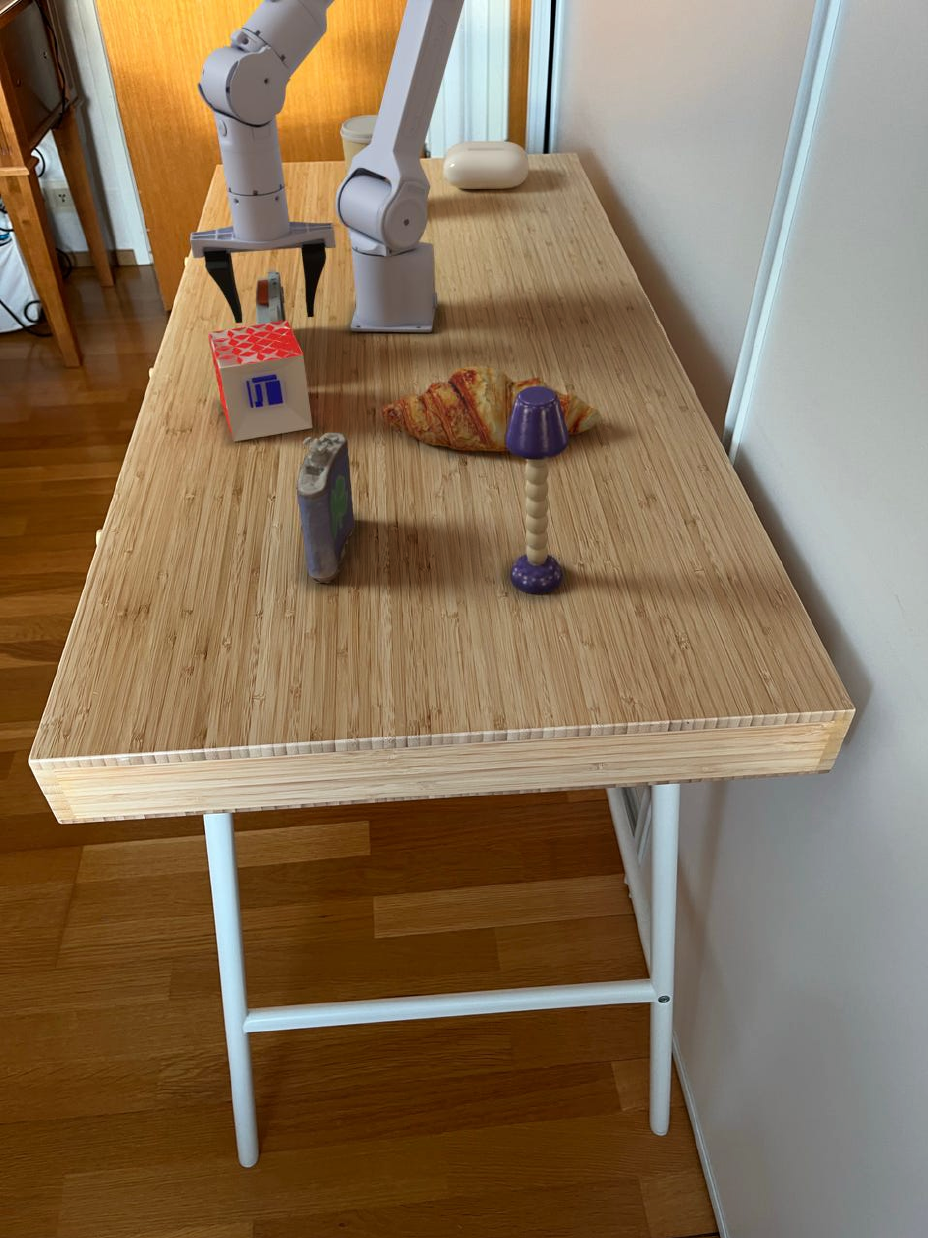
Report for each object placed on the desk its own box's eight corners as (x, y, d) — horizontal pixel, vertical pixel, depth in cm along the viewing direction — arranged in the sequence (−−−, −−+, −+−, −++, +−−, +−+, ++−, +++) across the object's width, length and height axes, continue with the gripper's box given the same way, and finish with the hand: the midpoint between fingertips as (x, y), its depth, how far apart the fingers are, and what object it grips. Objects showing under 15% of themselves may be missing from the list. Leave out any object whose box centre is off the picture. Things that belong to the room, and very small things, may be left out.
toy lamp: (518, 601, 78) (523, 416, 67) (493, 568, 82) (495, 386, 71) (571, 585, 80) (585, 401, 69) (545, 553, 83) (554, 372, 72)
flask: (334, 586, 80) (319, 474, 73) (299, 583, 81) (281, 471, 73) (359, 519, 87) (348, 411, 80) (327, 517, 87) (313, 409, 80)
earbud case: (444, 172, 157) (443, 136, 153) (526, 172, 156) (527, 135, 153) (442, 194, 149) (441, 156, 145) (529, 194, 149) (530, 156, 145)
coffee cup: (410, 224, 140) (405, 133, 132) (344, 224, 140) (336, 133, 132) (413, 201, 147) (409, 113, 139) (350, 201, 147) (343, 113, 139)
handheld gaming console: (293, 386, 105) (283, 314, 100) (265, 388, 105) (253, 317, 100) (289, 327, 116) (280, 259, 110) (264, 329, 115) (253, 261, 110)
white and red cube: (297, 391, 104) (287, 320, 99) (312, 427, 99) (303, 354, 93) (221, 403, 102) (207, 332, 97) (232, 442, 97) (218, 368, 92)
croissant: (590, 445, 102) (592, 365, 100) (607, 453, 92) (610, 364, 90) (385, 447, 101) (383, 366, 99) (379, 454, 92) (377, 365, 90)
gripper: (326, 168, 102) (339, 295, 111) (183, 177, 100) (208, 305, 109) (330, 191, 97) (343, 322, 106) (179, 201, 95) (206, 334, 104)
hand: (274, 316), depth 107 cm, fingers open, 7 cm apart
